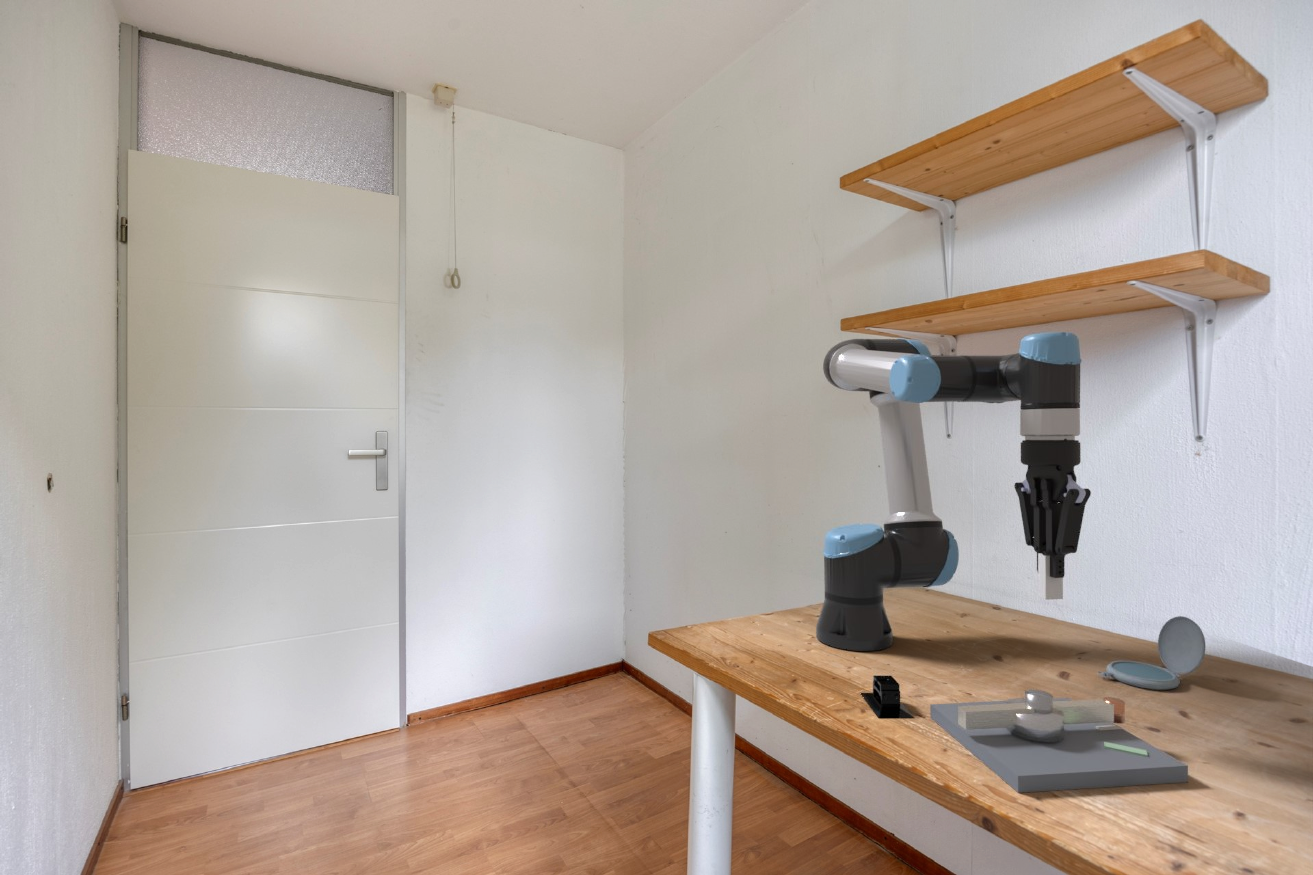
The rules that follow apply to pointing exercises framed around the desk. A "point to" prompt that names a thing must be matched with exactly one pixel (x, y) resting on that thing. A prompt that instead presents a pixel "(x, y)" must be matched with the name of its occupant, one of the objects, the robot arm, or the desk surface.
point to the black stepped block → (886, 699)
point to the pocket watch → (1165, 657)
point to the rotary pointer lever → (1040, 715)
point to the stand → (1064, 755)
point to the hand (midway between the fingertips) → (1050, 597)
